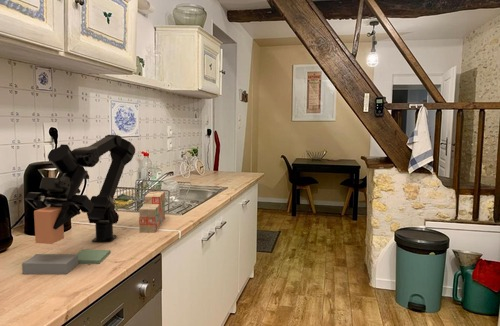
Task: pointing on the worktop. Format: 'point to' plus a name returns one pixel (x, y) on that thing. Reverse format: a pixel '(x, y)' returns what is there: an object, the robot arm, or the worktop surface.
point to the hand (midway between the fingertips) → (45, 228)
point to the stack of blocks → (152, 212)
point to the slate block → (50, 264)
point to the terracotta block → (47, 225)
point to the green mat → (92, 256)
